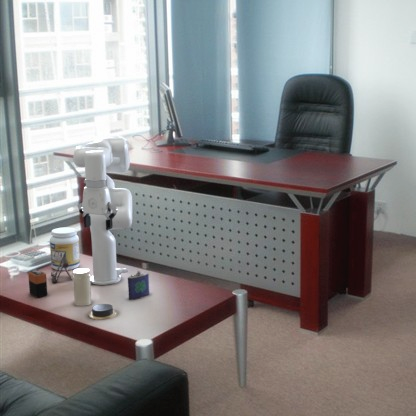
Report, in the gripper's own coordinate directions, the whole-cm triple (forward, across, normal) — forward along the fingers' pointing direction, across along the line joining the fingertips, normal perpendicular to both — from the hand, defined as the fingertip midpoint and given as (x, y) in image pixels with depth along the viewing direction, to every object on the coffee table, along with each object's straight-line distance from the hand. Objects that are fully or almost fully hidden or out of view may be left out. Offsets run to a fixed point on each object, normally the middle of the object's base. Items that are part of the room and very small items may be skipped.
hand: (98, 227), depth 256 cm
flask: (+28, +13, +6) cm, 32 cm away
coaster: (+28, +10, -14) cm, 33 cm away
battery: (+28, -25, -7) cm, 38 cm away
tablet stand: (+28, -28, +12) cm, 42 cm away
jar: (+28, -3, -7) cm, 29 cm away
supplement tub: (+28, -37, +26) cm, 53 cm away
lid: (+26, +10, -14) cm, 31 cm away
